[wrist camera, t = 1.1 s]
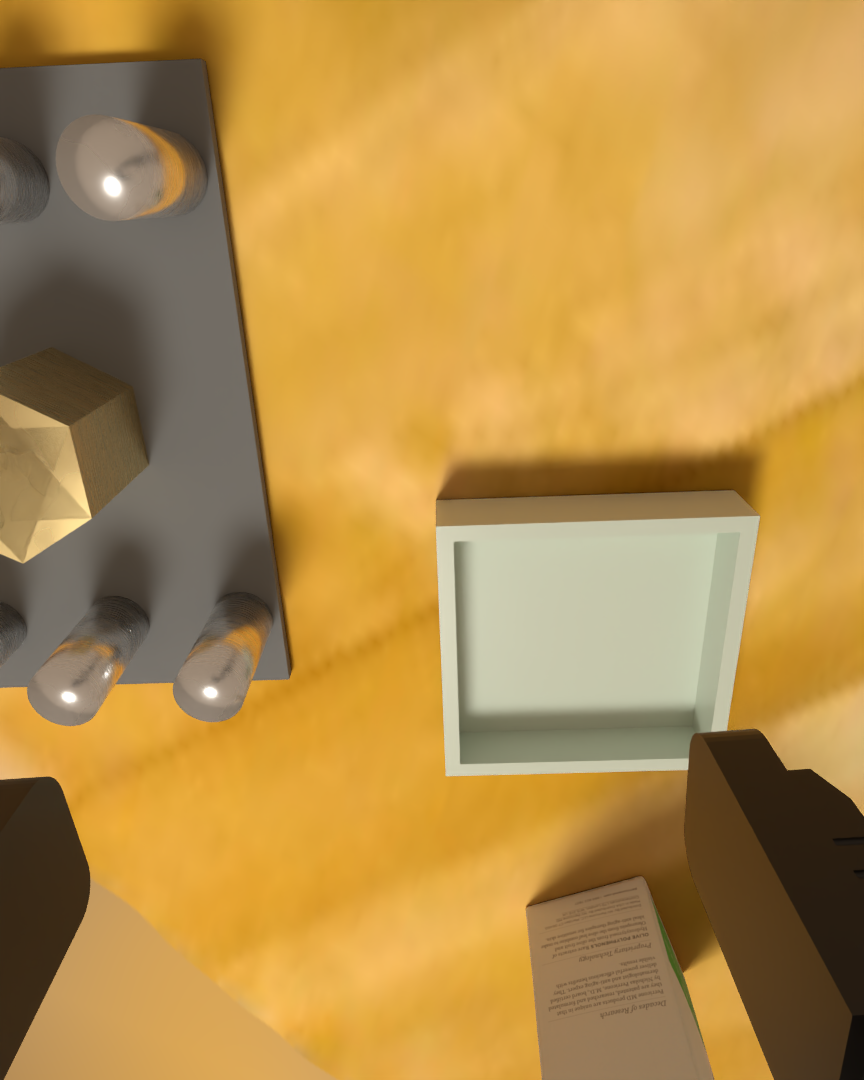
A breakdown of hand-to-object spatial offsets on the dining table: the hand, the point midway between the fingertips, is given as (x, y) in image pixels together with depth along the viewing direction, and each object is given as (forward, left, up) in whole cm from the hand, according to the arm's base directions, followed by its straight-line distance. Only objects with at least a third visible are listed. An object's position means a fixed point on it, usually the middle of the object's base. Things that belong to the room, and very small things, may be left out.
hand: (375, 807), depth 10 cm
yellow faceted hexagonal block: (0, -12, -19) cm, 22 cm away
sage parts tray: (+9, +6, -19) cm, 22 cm away
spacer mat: (0, -12, -19) cm, 23 cm away
